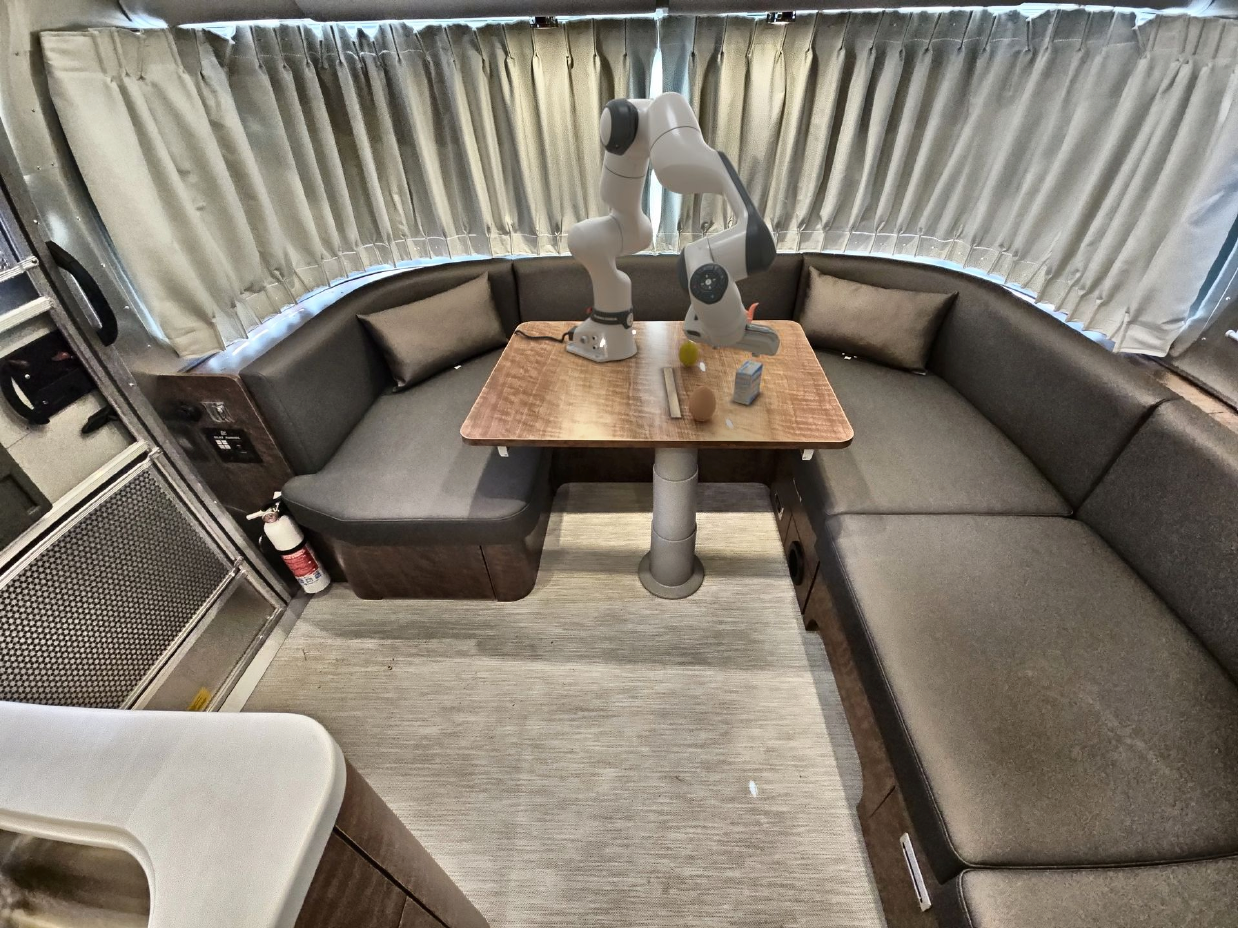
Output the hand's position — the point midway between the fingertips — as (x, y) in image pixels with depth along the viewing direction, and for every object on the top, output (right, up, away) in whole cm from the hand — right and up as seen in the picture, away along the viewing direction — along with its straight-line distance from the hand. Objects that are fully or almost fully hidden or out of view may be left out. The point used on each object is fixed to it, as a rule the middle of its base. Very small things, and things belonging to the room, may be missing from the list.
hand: (736, 350), depth 120 cm
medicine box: (+7, -8, +20) cm, 22 cm away
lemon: (-6, +2, +35) cm, 36 cm away
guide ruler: (-13, -6, +23) cm, 27 cm away
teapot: (+9, +14, +50) cm, 53 cm away
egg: (-6, -15, +11) cm, 20 cm away
